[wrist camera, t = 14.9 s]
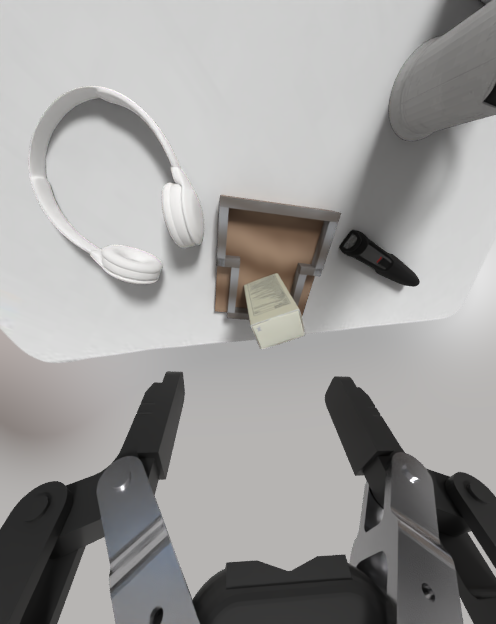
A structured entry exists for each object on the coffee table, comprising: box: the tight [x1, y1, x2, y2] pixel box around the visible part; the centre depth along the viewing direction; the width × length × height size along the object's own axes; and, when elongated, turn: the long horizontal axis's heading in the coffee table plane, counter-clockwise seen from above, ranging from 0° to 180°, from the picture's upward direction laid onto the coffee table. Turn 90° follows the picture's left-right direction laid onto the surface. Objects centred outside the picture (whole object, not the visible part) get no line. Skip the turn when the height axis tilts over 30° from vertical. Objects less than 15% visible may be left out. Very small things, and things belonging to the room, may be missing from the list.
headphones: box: [28, 86, 204, 284], centre depth 26 cm, size 7×18×20 cm
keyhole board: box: [215, 195, 341, 320], centre depth 33 cm, size 18×16×3 cm
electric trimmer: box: [339, 230, 420, 286], centre depth 34 cm, size 4×16×3 cm, turn 62°
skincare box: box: [244, 273, 305, 349], centre depth 30 cm, size 6×4×12 cm
